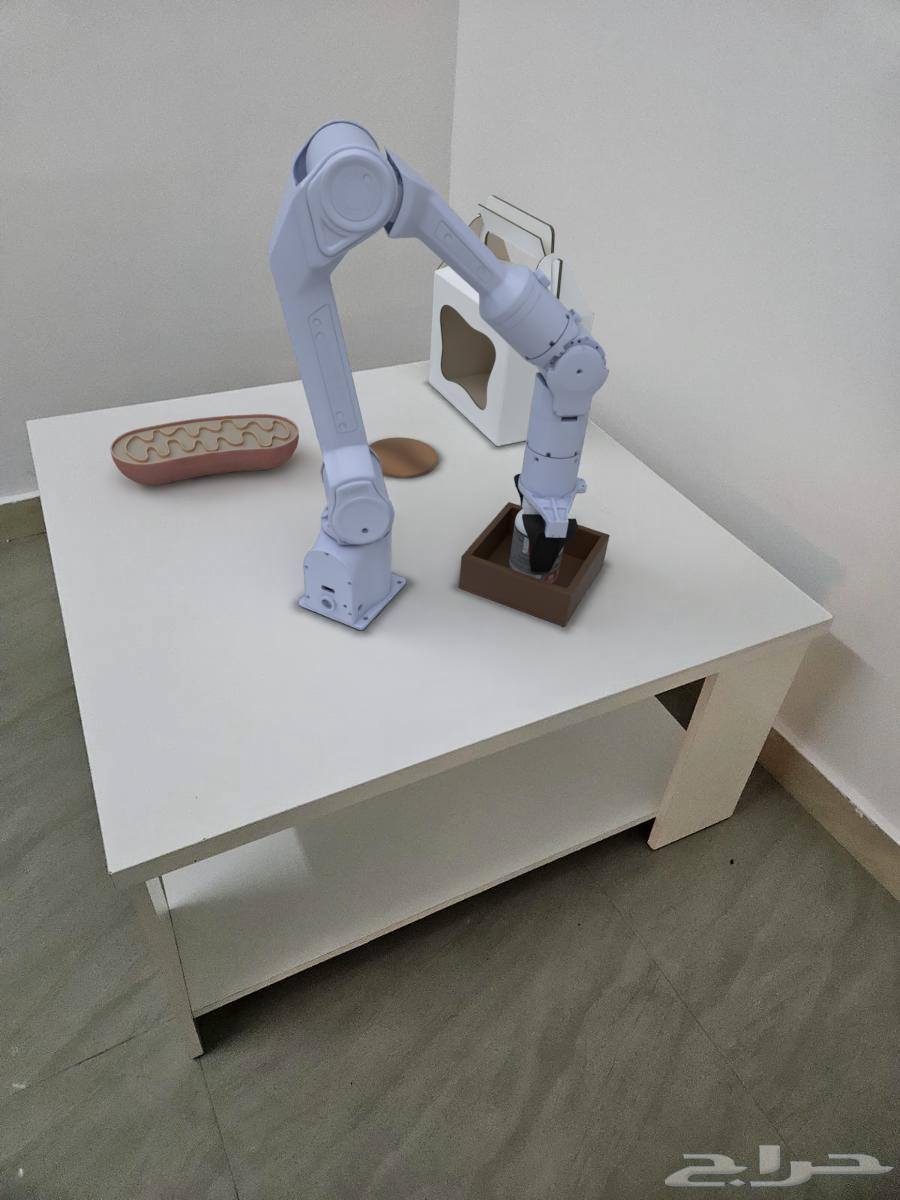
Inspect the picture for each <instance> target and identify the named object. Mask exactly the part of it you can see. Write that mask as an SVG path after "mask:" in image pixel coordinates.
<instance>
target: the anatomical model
mask: <svg viewBox="0 0 900 1200" xmlns="http://www.w3.org/2000/svg"><path fill="white" fill-rule="evenodd" d="M299 439H300V430H299V426H298V425H297V423H295V422H294V421H293V420H291V419H289V418H287V417H285V416H282V415H277V414H272V413H253V414H252V413H251V414H250V413H249V414H234V415H233V414H232V415H218V416H208V417H199V418H191V419H184V420H177V421H172V422H166V423H161V424H156V425H155V424H154V425H150V426H145V427H140V428H135V429H132V430H129V431H126V432H124V433H122V434H120V435H119V436H117V437H116V438H115V439H114V440H113V441H112V442H111V444H110V448H109V451H110V455H111V458H112V461H113V463H114V465H115V467H116V468H117V469H118V471H120V473H121V474H122V475H123V476H125V477H126V478H127V479H128V480H130V481H132V482H135V483H138V484H141V485H146V486H157V485H162V484H168V483H171V482H177V481H181V480H186V479H190V478H197V477H203V476H207V475H217V474H223V473H233V472H245V471H260V470H272V469H276V468H279V467H281V466H283V465H285V463H286V462H288V461H289V460H290V458H292V457H293V455H294V454H295V452H296V450H297V448H298V444H299Z"/></svg>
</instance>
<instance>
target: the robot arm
mask: <svg viewBox="0 0 900 1200" xmlns="http://www.w3.org/2000/svg"><path fill="white" fill-rule="evenodd" d="M383 148H384V151H385V154H386V156H385V155H384V154H383V153H382V152H381V150H380V149H381V148H380V147H379V144H378V142H377V140H376V138H375V137H374V136H373V134H372V133H371V132H370V131H369V129H367V128H366V127H364V126H363V125H361V123H358V122H357V121H354V120H350V119H346V118H336V119H332V120H328V121H325V122H324V123H322V124H321V125H319V126H318V127H317V128H315V130H313V132H311V135H310V136H309V137H308V138H307V139H306V141H305V142H304V143H303V145H302V146H300V148H299V150H298V151H297V152H296V154H295V155H294V156H293V158H292V160H291V165H290V168H289V174H288V178H287V182H286V186H285V188H284V192H283V196H282V198H281V201H280V205H279V208H278V211H277V214H276V217H275V221H274V224H273V227H272V230H271V233H270V236H269V240H268V245H267V247H268V259H269V267H270V271H271V275H272V278H273V281H274V282H273V283H274V286H275V289H276V292H277V296H278V300H279V304H280V307H281V311H282V314H283V318H284V321H285V325H286V329H287V333H288V335H289V339H290V343H291V347H292V351H293V355H294V358H295V361H296V365H297V368H298V372H299V375H300V380H301V383H302V387H303V391H304V394H305V398H306V401H307V405H308V408H309V412H310V416H311V420H312V423H313V427H314V431H315V433H316V434H315V435H316V437H317V441H318V445H319V449H320V452H321V456H322V463H321V465H320V477H321V482H322V483H323V488H324V493H325V498H326V499H325V500H326V505H325V506H324V507H323V511H322V512H321V515H320V527H319V528H320V529H319V533H318V536H317V539H316V541H315V543H314V544H313V546H312V547H311V548H310V550H308V551H307V553H306V554H305V556H304V558H303V565H302V568H303V580H304V595H303V596H302V597H301V598H300V599H299V601H298V604H299V606H300V607H302V608H305V609H307V610H310V611H312V612H315V613H317V614H320V615H322V616H325V617H326V618H329V619H332V620H334V621H336V622H340V623H342V624H345V625H347V626H349V627H351V628H354V629H356V630H360V631H362V630H365V628H366V627H367V626H368V625H369V624H371V622H372V621H373V620H374V619H375V618H376V617H377V615H379V613H380V612H381V611H382V610H384V607H386V606H387V605H388V604H389V602H390V601H391V600H392V599H393V598H394V597H395V596H396V595H397V594H398V593H399V591H401V589H402V588H404V586H405V585H406V584H407V578H405V577H403V576H400V575H397V574H395V573H393V572H392V544H393V543H392V540H393V524H394V521H395V508H394V504H393V503H392V501H391V499H390V497H389V493H388V489H387V486H386V482H385V478H384V475H383V474H382V465H381V461H380V459H379V457H378V455H377V454H376V453H375V452H374V451H373V450H372V449H371V448H370V446H369V445H370V444H369V442H368V437H367V433H366V429H365V424H364V420H363V416H362V412H361V407H360V404H359V398H358V393H357V391H356V390H357V389H356V385H355V381H354V377H353V373H352V367H351V364H350V360H349V355H348V351H347V346H346V342H345V338H344V333H343V328H342V324H341V320H340V316H339V312H338V308H337V307H338V306H337V303H336V299H335V293H334V289H333V285H332V280H331V275H332V273H333V272H334V271H335V269H336V268H337V267H338V266H339V264H340V263H341V261H342V260H343V259H344V257H346V255H347V254H348V252H350V251H351V250H353V249H354V248H356V247H357V246H359V245H360V244H361V243H363V242H365V241H366V240H368V239H369V238H371V237H372V236H374V235H375V234H377V233H378V232H379V231H380V230H381V229H384V232H385V234H386V235H387V237H388V238H389V239H418V240H419V241H420V242H422V243H423V245H425V246H426V247H427V248H428V249H429V250H430V251H432V252H433V253H434V255H435V256H437V257H438V258H439V259H440V260H441V261H442V262H443V261H444V262H445V263H446V264H447V265H448V266H449V267H450V268H451V269H452V270H453V271H455V272H456V273H457V274H458V275H459V276H460V277H461V278H462V279H463V280H464V281H465V282H467V283H468V284H469V285H470V286H471V287H472V288H473V289H474V290H475V291H476V292H477V293H479V313H480V316H481V318H482V319H483V320H484V321H485V322H486V323H487V324H488V325H489V326H490V327H491V328H492V329H494V330H495V331H496V332H497V333H498V334H499V335H500V336H501V337H502V338H503V339H504V340H505V341H506V342H507V343H508V344H509V345H510V346H511V347H512V348H513V349H514V350H515V351H516V352H517V353H518V354H519V355H520V356H522V357H523V358H524V359H525V360H526V361H527V362H529V363H531V364H533V365H535V366H536V367H537V368H538V370H539V371H540V372H537V373H536V376H535V384H534V391H533V397H532V401H531V409H530V416H529V423H528V431H527V438H526V441H525V444H524V452H523V461H522V467H521V472H520V473H517V474H515V475H514V476H513V481H514V486H515V488H516V491H517V493H518V496H519V500H520V506H521V510H522V509H523V508H522V503H523V497H524V496H525V498H526V499H527V500H528V501H529V502H530V503H531V504H532V506H533V507H534V508H535V509H536V510H537V511H538V513H539V514H522V520H523V525H524V528H525V531H526V533H527V536H528V539H529V562H530V567H531V571H532V572H550V570H551V569H552V567H553V565H554V563H555V561H556V559H557V557H558V555H559V553H560V551H561V549H562V548H563V546H564V545H565V544H566V543H567V542H568V541H569V540H570V539H571V538H572V537H573V536H574V535H575V534H576V533H577V530H578V525H579V524H578V521H577V518H569V514H570V511H571V510H572V505H573V503H574V501H575V497H576V496H577V494H586V492H587V488H588V485H587V483H586V480H585V478H582V477H578V474H579V469H580V464H581V459H582V454H583V448H584V443H585V437H586V433H587V427H588V423H589V422H588V421H589V416H590V411H591V407H592V405H591V404H592V401H593V397H594V396H595V394H596V393H597V392H598V391H599V390H601V388H602V387H603V385H604V384H605V382H607V379H608V376H609V374H610V368H608V367H607V359H606V356H607V355H606V353H605V351H604V350H605V349H604V348H603V347H602V346H601V345H600V343H599V342H598V341H597V339H595V337H594V336H593V335H592V333H591V334H590V333H589V331H588V330H587V329H586V328H585V327H584V325H583V324H581V323H580V322H581V321H582V317H581V316H580V315H579V313H578V312H577V311H576V310H575V309H574V308H572V309H570V310H568V309H567V308H566V307H565V306H564V305H563V304H562V303H561V302H560V301H559V300H558V299H557V298H556V296H555V295H554V294H553V293H552V292H551V291H550V290H549V289H548V288H547V287H548V286H549V285H550V284H551V281H550V280H549V279H548V278H547V277H546V275H545V274H544V273H543V272H542V271H541V270H540V269H536V268H535V270H534V271H532V270H531V268H530V267H529V266H528V265H526V264H523V263H514V264H513V265H504V264H502V263H501V262H500V261H499V260H498V259H497V257H496V256H495V255H494V254H493V253H492V252H491V251H490V250H489V249H488V247H487V246H486V245H485V244H484V243H483V242H482V241H481V240H480V239H479V237H478V236H477V235H476V234H475V233H474V232H473V231H472V230H471V229H470V227H469V224H467V222H465V220H463V218H462V217H461V216H460V215H459V214H458V213H457V212H456V210H454V208H453V207H452V206H451V205H450V204H449V203H448V202H447V201H446V199H445V198H444V197H443V196H442V195H441V194H440V193H439V192H438V191H437V190H436V189H435V187H433V185H432V184H431V183H430V182H429V181H428V180H427V179H426V178H425V177H424V176H422V175H421V174H420V173H419V172H418V171H416V169H414V168H413V167H412V166H411V165H410V164H408V163H407V162H406V161H405V160H404V159H403V158H402V157H400V156H399V155H398V154H396V153H395V152H394V151H393V150H391V149H390V148H389V147H387V146H386V145H384V146H383Z"/></svg>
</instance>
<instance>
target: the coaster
mask: <svg viewBox="0 0 900 1200" xmlns="http://www.w3.org/2000/svg"><path fill="white" fill-rule="evenodd" d="M368 445H369V446H370V448H371V449H372V450H373V451H374V452H375V453H376V454H377V455H378V457H379V459H380V461H381V465H382V474H383V477H384V476H385V477H389V478H395V479H411V478H417V477H420V476H424V475H426V474H429V473H430V472H431V471H433V470H434V469H435V468H436V466H437V464H438V453H437V451H436V450H435V449H434V448H433V447H432V446H431V445H429V444H428V443H427V442H424V441H421V440H419V439H416V438H409V437H387V438H382V439H379V440H376V441H374V442H372V443H371V444H368Z"/></svg>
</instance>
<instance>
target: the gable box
mask: <svg viewBox="0 0 900 1200" xmlns="http://www.w3.org/2000/svg"><path fill="white" fill-rule="evenodd" d="M477 208H478V210H479V213H476V217H475V218H474V219H473V220H471V222H470V223H469V224H468V226H469V227H470V229H471V230H472V231H473V232H474V233H475V234H476V235H477V236H478V237H479V239H480V240H481V241H482V242H483V243H484V244H485V245H486V246H487V247H488V249H489V250H490V251H491V252H492V253H493V254H494V255H495V256H496V257H497V259H498V260H499V261H500V262H501V263H502V264H504V265H513V264H515V263H514V262H511V259H510V256H509V252H508V249H507V246H506V243H505V242H507V243H508V244H509V245H512V246H513V247H515V248H516V249H518V250H520V251H521V252H523V253H524V254H527V255H528V256H530V257H531V258H533V259H534V260H537V261H538V264H537V266H536V268H535V270H536V269H540V270H541V271H542V272H543V273H544V274H545V275H546V277H547V278H548V279H549V280H550V281H551V284H550V285H549V286H548V287H547V288H548V289H549V290H550V291H551V292H552V293H553V294H554V295H555V296H556V298H557V299H558V300H559V301H560V302H561V303H562V304H563V305H564V306H565V307H566V308H567V309H568V310H570V309H572V308H574V309H575V310H576V311H577V312H578V313H579V315H580V316H581V317H582V321H581V322H580V323H581V324H583V325H584V327H585V328H586V329H587V330H588V331H589V333H590V334H591V335H592V329H593V322H594V318H595V317H594V316H595V313H594V312H593V310H592V308H591V305H590V303H589V302H588V300H587V298H586V296H585V294H584V292H583V289H582V287H581V285H580V283H579V281H578V279H577V277H576V275H575V273H574V271H573V268H572V267H571V265H570V262H569V260H568V259H567V258H566V256H564V255H563V254H561V253H558V252H555V240H556V234H555V233H556V232H555V229H554V226H552V225H551V224H550V223H547V222H546V221H544V220H542V219H540V218H538V217H536V216H534V215H533V214H531V213H529V212H527V211H525V210H522V209H521V208H519V207H517V206H516V205H513V204H512V203H510V202H508V201H506V200H504V199H502V198H500V197H498V196H497V195H495V194H494V195H493V194H491V195H489V196H488V197H487V200H486V205H485V206H484V205H483V204H481V203H478V204H477ZM433 274H434V275H433V292H432V293H433V294H432V314H431V337H430V355H429V375H428V376H429V377H428V383H429V385H431V386H432V387H433V388H434V389H435V390H436V391H438V393H440V394H441V395H442V396H443V398H445V399H446V400H447V401H448V402H449V403H450V404H451V405H452V406H453V407H454V408H455V409H456V410H458V411H459V412H460V413H461V414H462V415H463V416H464V417H465V418H466V419H467V420H468V421H469V422H470V423H471V424H473V425H474V426H475V428H477V429H478V430H479V431H480V432H481V433H482V434H483V435H484V436H485V437H487V438H488V439H489V441H491V442H492V443H493V444H494V445H495V446H496V447H502V446H506V445H507V446H508V445H511V444H517V443H520V442H526V438H527V431H528V423H529V416H530V409H531V401H532V397H533V391H534V384H535V376H536V373H537V372H540V371H539V370H538V368H537V367H536V366H535V365H533V364H531V363H529V362H527V361H526V360H525V359H524V358H523V357H522V356H520V355H519V354H518V353H517V352H516V351H515V350H514V349H513V348H512V347H511V346H510V345H509V344H508V343H507V342H506V341H505V340H504V339H503V338H502V337H501V336H500V335H499V334H498V333H497V332H496V331H495V330H494V329H492V328H491V327H490V326H489V325H488V324H487V323H486V322H485V321H484V320H483V319H482V318H481V316H480V313H479V293H477V292H476V291H475V290H474V289H473V288H472V287H471V286H470V285H469V284H468V283H467V282H465V281H464V280H463V279H462V278H461V277H460V276H459V275H458V274H457V273H456V272H455V271H453V270H452V269H451V268H450V267H449V266H448V265H447V264H446V263H445V262H444V261H443V260H442V261H441V263H440V265H438V267H437V269H435V271H434V273H433Z"/></svg>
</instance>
